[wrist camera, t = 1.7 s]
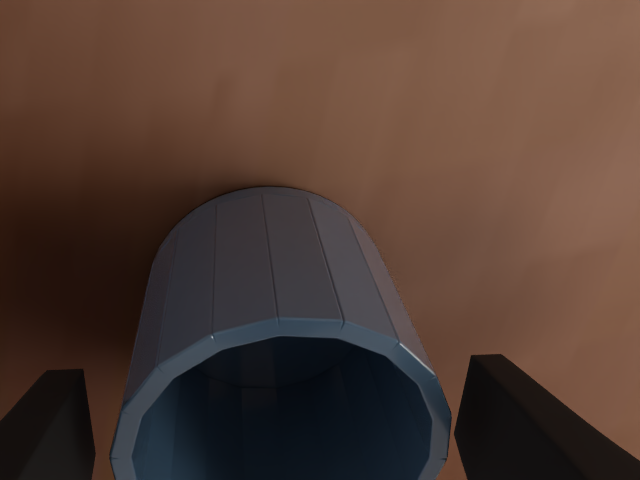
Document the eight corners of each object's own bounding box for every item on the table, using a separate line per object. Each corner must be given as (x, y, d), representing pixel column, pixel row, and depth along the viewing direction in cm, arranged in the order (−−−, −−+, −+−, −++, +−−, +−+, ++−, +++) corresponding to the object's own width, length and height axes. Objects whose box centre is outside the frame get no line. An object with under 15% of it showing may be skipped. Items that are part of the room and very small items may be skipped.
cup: (265, 418, 17) (280, 605, 12) (95, 296, 14) (32, 473, 10) (427, 291, 15) (512, 445, 11) (271, 133, 13) (297, 246, 8)
